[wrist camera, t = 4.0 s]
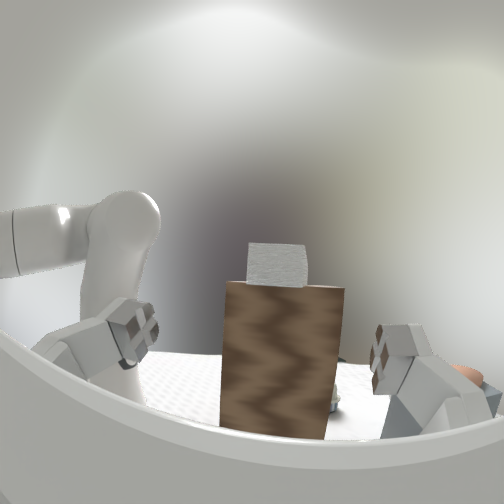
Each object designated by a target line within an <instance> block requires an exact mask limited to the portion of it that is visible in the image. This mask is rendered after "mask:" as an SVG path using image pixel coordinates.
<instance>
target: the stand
mask: <svg viewBox="0 0 504 504" xmlns="http://www.w3.org/2000/svg"><path fill="white" fill-rule="evenodd" d="M344 290H345V289H344V288H341V287H335V286H317V285H306V286H304V287H303V288H295V287H278V286H263V285H249V284H246V282H240V281H238V282H237V281H227V283H226V299H225V316H224V332H223V351H222V371H221V395H220V423H219V427H223V428H228V429H233V430H239V431H244V432H250V433H257V434H264V435H271V436H279V437H289V438H300V439H316V440H324V437H325V432H326V427H327V422H328V417H329V412H330V406H331V401H332V395H333V389H334V383H335V376H336V369H337V362H338V354H339V346H340V336H341V327H342V316H343V303H344Z"/></svg>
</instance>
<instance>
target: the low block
mask: <svg viewBox="0 0 504 504" xmlns="http://www.w3.org/2000/svg"><path fill="white" fill-rule="evenodd" d="M451 366H452V367H454V368H455V369H456V370H458V371H459V372H460V373H461V374H463V375H464V376H465V377H466V378H468V379H469V380H470V381H472V382H473V383H474V384H475V385H477V386H478V387H479V388H480V389H482V390H483V392H484V394H485V397H486V400H487V402H488V405H489V408H490V411H491V414H492V417H493V418H494V417H495V415H496V412H497V408H498V405H499V402H500V399H501V396H502V392H501V391H499V390H497V389H495V388H494V387H492V386H490V385H489V384H487V383H485V382H483V375H482V374H481V373H480V372H478V371H477V370H475V369H472V368H469V367H465V366H459V365H451ZM422 430H423V429H422V427H421V426H420V425H419V423H418V422H417V421H416V420H415V418H414V417H413V416H412V415H411V413H410V412H409V411H408V410H407V408H406V407H405V406H404V404H403V403H402V402H401V401H400V399H399V398H398V397H397V395H391V400H390V404H389V408H388V412H387V416H386V420H385V423H384V427H383V430H382V434H381V437H380V439H389V438H400V437H409V436H417V435H419V434H420V433H421V432H422Z"/></svg>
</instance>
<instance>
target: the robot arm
mask: <svg viewBox="0 0 504 504" xmlns="http://www.w3.org/2000/svg"><path fill="white" fill-rule="evenodd" d="M160 226H161V218H160V213H159V210H158V208H157V206H156V204H155V202H154V201H153V200H152V199H151V198H150V197H149V196H148V195H146V194H144V193H142V192H139V191H119V192H115V193H113V194H111V195H109V196H107V197H106V198H105V199H104V200H102V201H101V202H100V203H97V204H94V205H57V204H50V205H43V206H35V207H28V208H21V209H15V210H9V211H4V212H0V279H3V278H12V277H18V276H23V275H29V274H34V273H39V272H44V271H49V270H54V269H60V268H64V267H68V266H73V265H77V264H82V263H86V264H85V270H84V275H83V280H82V285H81V291H80V322H78V323H76V324H73V325H70V326H67V327H65V328H62V329H59V330H56V331H54V332H51V333H48V334H47V335H45V336H44V337H43V338H42V339H41V340H40V341H39V342H38V343H37V344H36V345H35V346H34V347H33V348H32V349H28V348H27V347H25V346H24V345H22V344H21V343H19V342H18V341H16V340H15V339H13V338H12V337H11V336H9V335H8V334H7V333H5V332H4V331H2V330H1V329H0V504H504V415H503V416H500V417H497V418H493V417H492V414H491V411H490V408H489V405H488V402H487V400H486V397H485V394H484V392H483V390H482V389H480V388H479V387H478V386H477V385H475V384H474V383H473V382H472V381H470V380H469V379H468V378H466V377H465V376H464V375H463V374H461V373H460V372H459V371H458V370H456V369H455V368H454V367H452V366H451V365H450V364H448V363H447V362H446V361H445V360H443V359H442V358H441V357H439V356H438V355H433V352H432V349H431V347H430V344H429V342H428V340H427V337H426V335H425V332H424V330H423V328H422V325H420V324H406V325H379V326H378V328H377V331H376V338H377V341H376V342H375V343H373V345H372V349H371V354H370V370H371V371H372V372H373V373H374V375H373V378H372V387H373V395H397V397H398V398H399V399H400V401H401V402H402V403H403V404H404V406H405V407H406V408H407V410H408V411H409V412H410V413H411V415H412V416H413V417H414V418H415V420H416V421H417V422H418V423H419V425H420V426H421V427H422V429H423V430H422V432H421V433H420V434H419V435H417V436H409V437H400V438H389V439H374V440H316V439H300V438H289V437H279V436H271V435H264V434H257V433H250V432H244V431H239V430H233V429H228V428H223V427H219V426H214V425H210V424H206V423H201V422H198V421H194V420H190V419H186V418H183V417H179V416H176V415H172V414H169V413H166V412H163V411H160V410H157V409H154V408H151V407H148V406H145V405H146V402H147V401H146V398H145V395H144V393H143V389H142V386H141V382H140V377H139V371H138V364H137V363H138V362H139V363H140V362H141V360H142V359H143V358H144V356H145V355H146V354H147V352H148V349H147V347H149V346H151V345H153V344H154V342H155V341H156V340H157V337H158V333H159V327H158V323H157V321H156V320H155V319H154V317H153V315H154V313H155V312H154V309H153V306H152V305H151V304H150V303H147V302H142V301H137V297H138V290H139V285H140V281H141V277H142V273H143V270H144V266H145V263H146V259H147V256H148V252H149V250H150V248H151V246H152V244H153V243H154V242H155V240H156V238H157V236H158V234H159V231H160Z"/></svg>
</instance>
